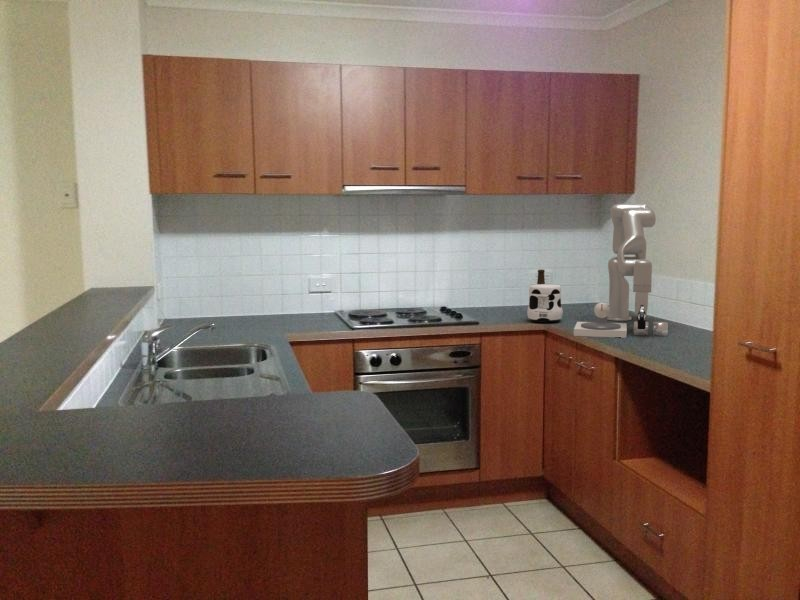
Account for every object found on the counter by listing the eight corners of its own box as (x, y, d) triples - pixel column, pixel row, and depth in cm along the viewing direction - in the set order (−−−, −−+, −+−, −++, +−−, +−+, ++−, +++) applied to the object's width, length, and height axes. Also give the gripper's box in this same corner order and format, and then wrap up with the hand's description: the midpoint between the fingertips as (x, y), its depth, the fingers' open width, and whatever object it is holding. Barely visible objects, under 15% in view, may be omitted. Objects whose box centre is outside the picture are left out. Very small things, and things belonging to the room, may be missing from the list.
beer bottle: (548, 315, 361) (548, 270, 358) (533, 315, 363) (533, 270, 360) (548, 313, 369) (548, 269, 366) (533, 313, 370) (533, 269, 367)
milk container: (549, 318, 352) (550, 283, 349) (569, 322, 335) (570, 286, 333) (520, 320, 345) (520, 285, 343) (539, 325, 329) (539, 288, 327)
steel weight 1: (633, 333, 304) (633, 320, 303) (647, 333, 302) (648, 321, 301) (633, 335, 298) (634, 322, 297) (648, 335, 296) (648, 323, 295)
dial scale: (577, 327, 319) (577, 301, 318) (626, 329, 312) (627, 302, 311) (573, 335, 298) (574, 307, 297) (626, 337, 291) (627, 309, 290)
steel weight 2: (652, 333, 301) (653, 321, 300) (667, 334, 299) (667, 322, 298) (653, 336, 295) (653, 323, 295) (667, 336, 294) (668, 324, 293)
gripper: (633, 287, 307) (632, 324, 308) (633, 290, 290) (632, 330, 292) (650, 287, 304) (649, 325, 306) (651, 290, 288) (650, 330, 290)
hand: (641, 327), depth 299 cm, fingers open, 9 cm apart
